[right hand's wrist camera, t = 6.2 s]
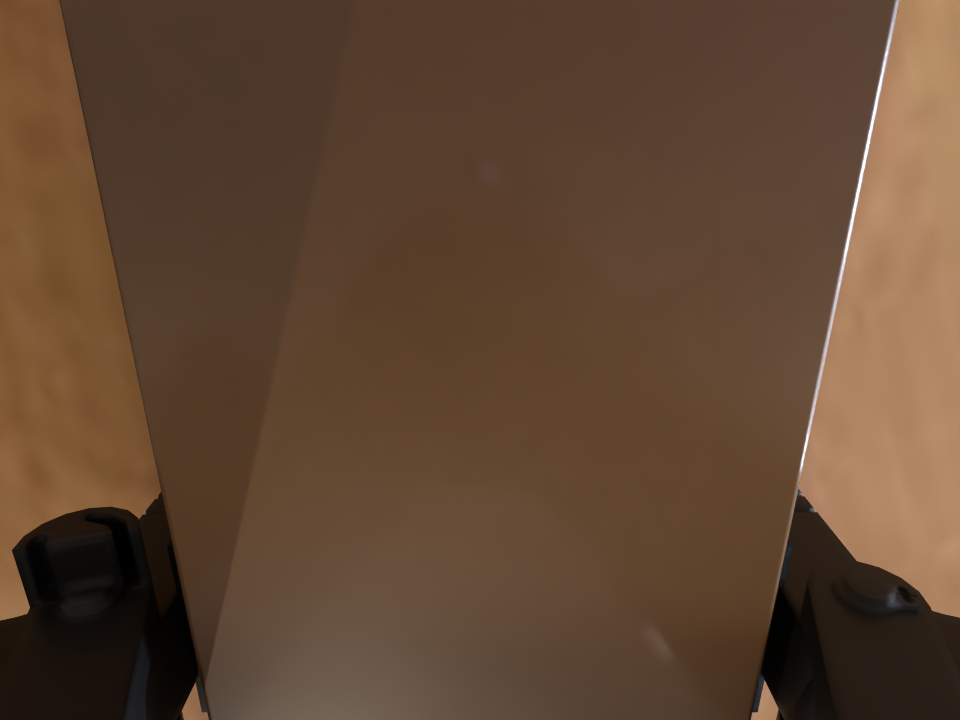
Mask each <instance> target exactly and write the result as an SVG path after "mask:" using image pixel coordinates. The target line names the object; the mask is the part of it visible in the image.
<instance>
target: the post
mask: <svg viewBox="0 0 960 720" xmlns="http://www.w3.org/2000/svg"><path fill="white" fill-rule="evenodd" d="M899 1H900V0H60V5H61V10H62V15H63V19H64V24H65V29H66V34H67V39H68V44H69V48H70V53H71V58H72V63H73V68H74V72H75V77H76V82H77V87H78V92H79V96H80V101H81V106H82V111H83V116H84V120H85V125H86V130H87V135H88V140H89V145H90V149H91V154H92V159H93V164H94V169H95V173H96V178H97V183H98V188H99V193H100V197H101V202H102V207H103V212H104V217H105V222H106V226H107V231H108V236H109V241H110V246H111V250H112V255H113V260H114V265H115V270H116V274H117V279H118V284H119V289H120V294H121V298H122V303H123V308H124V313H125V318H126V323H127V327H128V332H129V337H130V342H131V347H132V351H133V356H134V361H135V366H136V371H137V375H138V380H139V385H140V390H141V395H142V400H143V404H144V409H145V414H146V419H147V424H148V428H149V433H150V438H151V443H152V448H153V452H154V457H155V462H156V467H157V472H158V476H159V481H160V486H161V491H162V496H163V501H164V505H165V510H166V515H167V520H168V525H169V529H170V534H171V539H172V544H173V549H174V553H175V558H176V563H177V568H178V573H179V578H180V582H181V587H182V592H183V597H184V602H185V606H186V611H187V616H188V621H189V626H190V630H191V635H192V640H193V645H194V650H195V654H196V659H197V664H198V669H199V674H200V679H201V683H202V688H203V693H204V698H205V703H206V707H207V712H208V717H209V720H751V715H752V710H753V705H754V700H755V695H756V691H757V686H758V681H759V676H760V671H761V667H762V662H763V657H764V652H765V647H766V642H767V638H768V633H769V628H770V623H771V618H772V613H773V609H774V604H775V599H776V594H777V589H778V584H779V580H780V575H781V570H782V565H783V560H784V556H785V551H786V546H787V541H788V536H789V531H790V527H791V522H792V517H793V512H794V507H795V502H796V498H797V493H798V488H799V483H800V478H801V473H802V469H803V464H804V459H805V454H806V449H807V445H808V440H809V435H810V430H811V425H812V420H813V416H814V411H815V406H816V401H817V396H818V391H819V387H820V382H821V377H822V372H823V367H824V362H825V358H826V353H827V348H828V343H829V338H830V334H831V329H832V324H833V319H834V314H835V309H836V305H837V300H838V295H839V290H840V285H841V280H842V276H843V271H844V266H845V261H846V256H847V251H848V247H849V242H850V237H851V232H852V227H853V223H854V218H855V213H856V208H857V203H858V198H859V194H860V189H861V184H862V179H863V174H864V169H865V165H866V160H867V155H868V150H869V145H870V140H871V136H872V131H873V126H874V121H875V116H876V112H877V107H878V102H879V97H880V92H881V87H882V83H883V78H884V73H885V68H886V63H887V58H888V54H889V49H890V44H891V39H892V34H893V29H894V25H895V20H896V15H897V10H898V5H899Z"/></svg>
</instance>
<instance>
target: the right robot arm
mask: <svg viewBox="0 0 960 720" xmlns="http://www.w3.org/2000/svg"><path fill="white" fill-rule="evenodd" d="M12 552H13V555H14V558H15V561H16V564H17V568H18V571H19V574H20V577H21V580H22V583H23V586H24V590H25V593H26V596H27V599H28V602H29V605H30V609H29V611H28V614H26V615H22V616H19V617H15V618H10V619H6V620H1V621H0V720H184V719H183V714H182V709H183V707H184V705H185V702H186V700H187V698H188V696H189V694H190V692H191V690H192V688H193V686H194V684H195V682H196V686H197V690H198V695H199V700H200V705H201V709H202V712H207V707H206V703H205V698H204V693H203V688H202V683H201V679H200V674H199V669H198V664H197V659H196V654H195V650H194V645H193V640H192V635H191V630H190V626H189V621H188V616H187V611H186V606H185V602H184V597H183V592H182V587H181V582H180V578H179V573H178V568H177V563H176V558H175V553H174V549H173V544H172V539H171V534H170V529H169V525H168V520H167V515H166V510H165V505H164V501H163V496H162V491H161V493H160V494H159V498H158V499H155V500H154V501H153V503H152V504H151V505H150V506H149V508H148V509H147V510H146V515H142V516H141V518H140V519H139V520H138V518H137V517H136V516H135V515H134V514H132V513H131V512H130V511H128V510H124V509H119V508H114V507H101V508H88V509H84V510H80V511H76V512H72V513H68V514H65V515H62V516H60V517H58V518H55V519H53V520H51V521H48V522H46V523H43V524H42V525H40V526H39V527H37V528H36V529H34V530H33V531H31V532H30V533H28V534H27V535H25V536H24V537H23V538H22V539H21V540H20V541H19V543H18V544H17V545H16V546H15V547H14V548H13V550H12ZM764 679H765V681H766V683H767V686H768V688H769V690H770V692H771V694H772V696H773V698H774V700H775V702H776V704H777V706H778V708H779V710H778V714H777V719H776V720H960V618H958V617H954V616H949V615H944V614H941V613H937V612H934V611H932V610H931V608H930V606H929V605H928V603H927V602H926V601H925V599H924V598H923V596H922V595H921V594H920V592H919V591H917V590H916V589H915V588H913V587H912V586H911V585H910V584H908V583H907V582H906V581H904V580H903V579H902V578H900V577H898V576H896V575H894V574H892V573H890V572H888V571H886V570H884V569H881V568H879V567H876V566H872V565H869V564H865V563H861V562H858V561H856V560H855V559H854V557H853V556H852V555H851V554H850V552H849V551H848V550H847V549H846V547H845V546H844V545H843V544H842V542H841V541H840V540H839V539H838V538H837V536H836V535H835V534H834V533H833V531H832V530H831V529H830V528H829V526H828V525H827V524H826V523H825V521H824V520H823V519H822V518H821V516H820V515H819V514H818V513H817V512H814V508H813V507H812V505H811V504H810V503H809V502H808V500H807V499H806V498H805V497H802V495H801V492H800V490H799V489H798V493H797V498H796V502H795V507H794V512H793V517H792V522H791V527H790V531H789V536H788V541H787V546H786V551H785V556H784V560H783V565H782V570H781V575H780V580H779V584H778V589H777V594H776V599H775V604H774V609H773V613H772V618H771V623H770V628H769V633H768V638H767V642H766V647H765V652H764V657H763V662H762V667H761V671H760V676H759V681H758V686H757V691H756V695H755V700H754V705H753V710H752V712H758V707H759V703H760V698H761V693H762V688H763V684H764Z"/></svg>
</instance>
